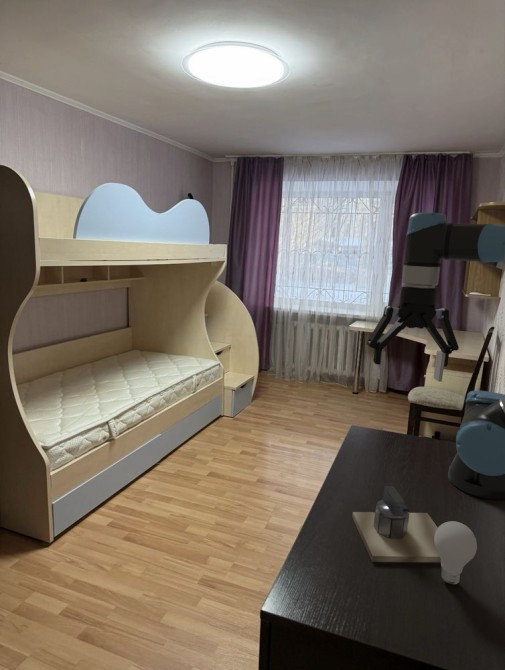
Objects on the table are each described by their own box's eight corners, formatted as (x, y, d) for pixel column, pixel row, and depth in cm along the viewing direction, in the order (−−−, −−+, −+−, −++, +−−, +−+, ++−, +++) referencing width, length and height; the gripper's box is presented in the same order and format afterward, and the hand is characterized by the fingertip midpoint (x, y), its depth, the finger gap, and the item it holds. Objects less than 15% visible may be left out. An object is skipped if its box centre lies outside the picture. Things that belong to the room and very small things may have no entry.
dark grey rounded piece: (410, 538, 90) (415, 501, 89) (380, 539, 90) (384, 502, 88) (398, 520, 96) (402, 485, 95) (370, 520, 96) (374, 485, 94)
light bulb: (474, 599, 77) (484, 539, 75) (432, 592, 78) (440, 533, 76) (465, 572, 83) (474, 516, 81) (426, 565, 85) (433, 510, 82)
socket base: (426, 518, 100) (429, 499, 99) (458, 562, 86) (461, 541, 85) (352, 517, 99) (354, 498, 98) (372, 561, 85) (374, 540, 84)
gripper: (466, 286, 107) (454, 375, 111) (358, 281, 106) (350, 372, 110) (483, 289, 100) (469, 385, 104) (368, 285, 98) (359, 382, 102)
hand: (408, 379), depth 107 cm, fingers open, 13 cm apart
